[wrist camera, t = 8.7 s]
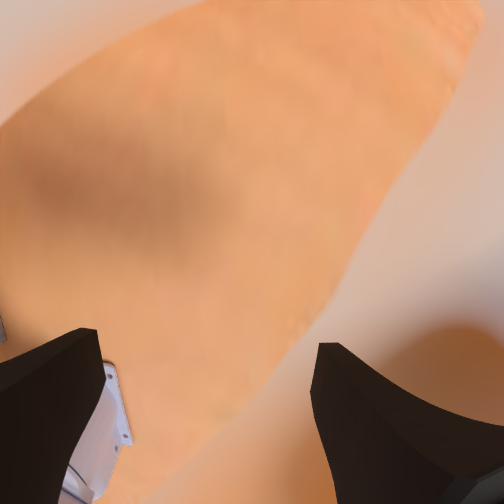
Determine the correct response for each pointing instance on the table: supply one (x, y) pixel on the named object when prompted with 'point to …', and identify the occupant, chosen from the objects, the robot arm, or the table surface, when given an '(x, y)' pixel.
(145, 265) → the table surface
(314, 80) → the table surface
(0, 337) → the plate
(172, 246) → the table surface
